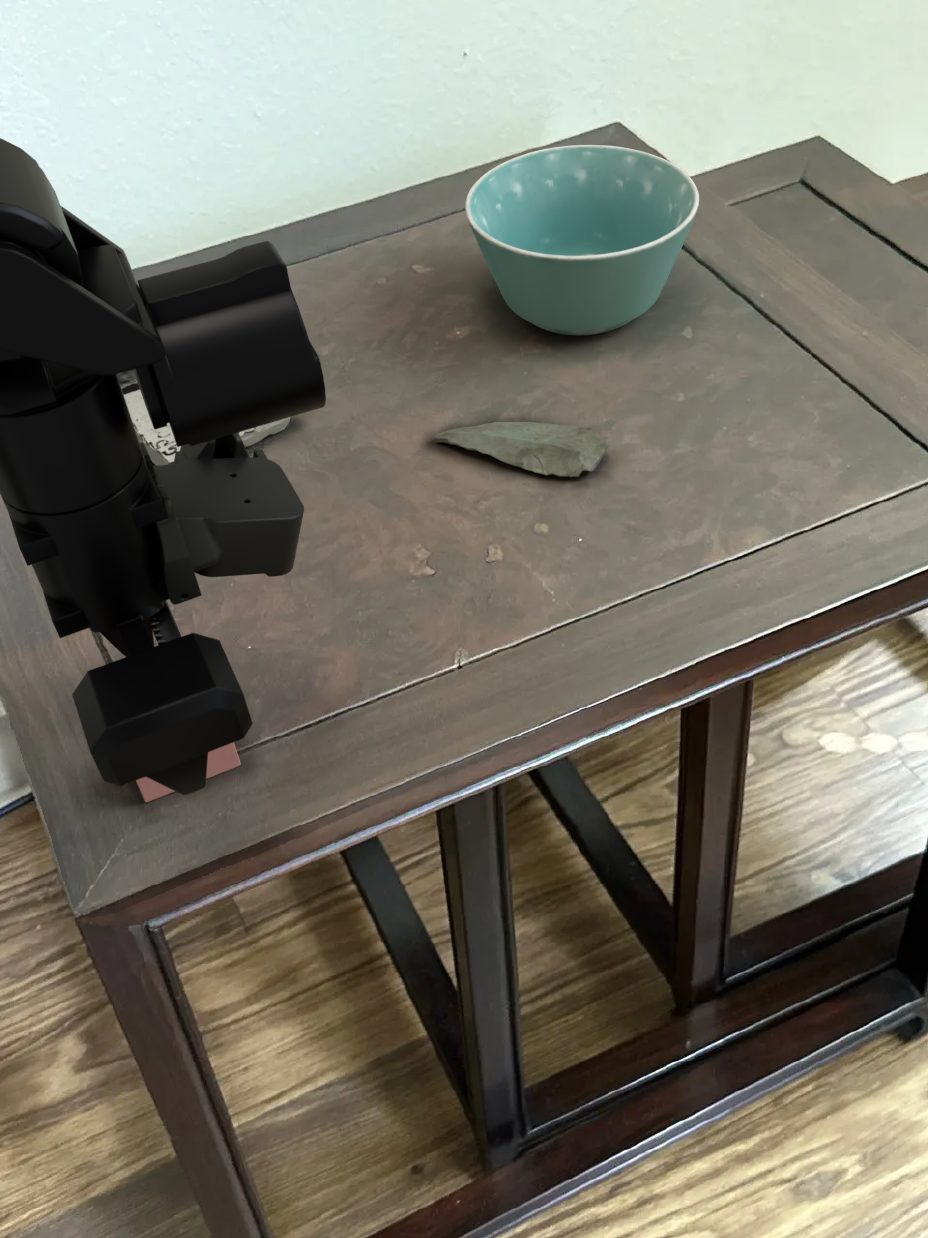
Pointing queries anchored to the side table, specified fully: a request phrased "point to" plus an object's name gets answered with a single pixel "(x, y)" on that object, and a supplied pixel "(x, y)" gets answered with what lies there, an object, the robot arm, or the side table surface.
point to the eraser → (216, 764)
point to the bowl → (582, 233)
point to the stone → (533, 445)
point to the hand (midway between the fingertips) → (168, 721)
